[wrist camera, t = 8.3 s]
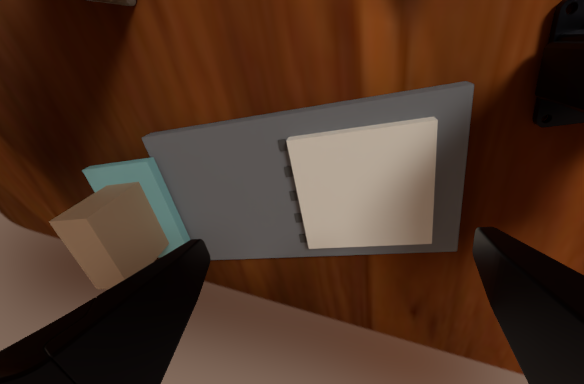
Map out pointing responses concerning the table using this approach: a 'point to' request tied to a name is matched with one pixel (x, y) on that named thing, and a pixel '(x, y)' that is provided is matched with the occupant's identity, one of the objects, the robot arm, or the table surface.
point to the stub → (121, 222)
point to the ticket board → (324, 177)
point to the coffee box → (118, 2)
